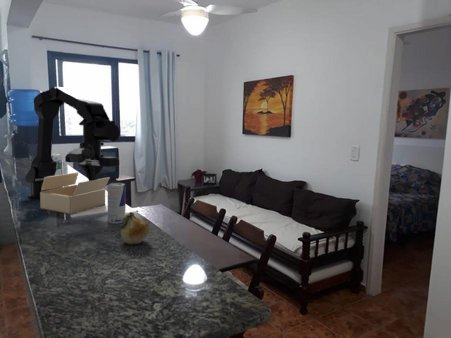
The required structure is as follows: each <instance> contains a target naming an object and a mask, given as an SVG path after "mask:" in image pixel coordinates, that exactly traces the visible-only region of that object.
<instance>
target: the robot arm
mask: <svg viewBox="0 0 451 338" xmlns="http://www.w3.org/2000/svg"><path fill="white" fill-rule="evenodd" d="M65 104H66V105H68V106H70V107H71V108H73V109H75V111H76V114H77V115H79V116H80V117H81V118H82V120H81V121H80V122H79V123H78V125H79V126H82V141H81V142H80V143H79V147H76V148H74V149H73V150H70V151H69V152H68V153H66V155H65V161H64V162H65V163H77V165H78V166H79V167H81V168H82V169H83V170H84V172H85V174H86V177H87V179H88V180H87V181H91V180H96V179H97V178H98V177H99V174H100V173H101V171H102V169H103V168H104V167H107V168H110V167H115V166H120V160H119V158H118V157H117V156H110V155H109V156H104V154H103V153H102V146H104V142H102V141H105V142H116V141H117V140H118V139H119V137H120V134H121V132H120V129H119V127H118V125H116V121H115V120H110V117H109V116H108V113H107V112H106V109H105V108H104V107H105V106H104V105H103V103H100V102H96V101H93V100H88V99H85V98H83V97H81V96H79V95H77V94H76V93H74V92H73V91H70V90H68V88H66V87H61V86H52V87H50V89H47V90H45V91H42V92H39V94H37V95H36V96H35V97H34V98H33V109H34V112H35V114H36V115H37V117H38V123H37V124H38V127H37V142H36V143H37V145H36V155H35V156H34V158H33V159H32V161H31V165H30V169H29V170H28V171H27V173H26V174H25V176H24V177H25V178H24V179H25V182H26V183H30V194H28V195H27V197H28V198H33V199H40V192H41V191H47V190H51V189H47V190H41V188H42V185H43V181H44V177H50V176H55V172H56V164H57V163H56V162H55V161H54V160H53V159H52V157H51V154H52V149H53V133H54V122H55V121H54V120H55V118H56V117H57V116H58V115H59V112H60V108H61V107H62V106H64V105H65Z"/></svg>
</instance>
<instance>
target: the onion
mask: <svg viewBox="0 0 451 338" xmlns="http://www.w3.org/2000/svg"><path fill="white" fill-rule="evenodd" d="M118 218H119V219H120V221H122V222H123V223H124V224H123V223H122V225H121V227H120V237H121V240H122V241H123V242H124V243H126V244H127V245H136V244H141V243H142V242H143V241H144V240H145V239H146V238H147V237H148V235H149V234H150V230H151V229H150V226H149V223H148V222H147V221H146V220H144V219H142V218H139V217H136V215H135V212H132V211H130V212H129V213H126V214H125V217H123V216H121V215H120V216H119V217H118Z"/></svg>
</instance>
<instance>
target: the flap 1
mask: <svg viewBox="0 0 451 338" xmlns="http://www.w3.org/2000/svg"><path fill="white" fill-rule="evenodd" d="M78 176H79V172H71V173H65V174H64V173H63V175H56V176H50V177H44V181H43V185H42V188H41V190H47V189H50V190H52V189H57V188H62V187H67V186H72V185H76V184H77V180H78Z"/></svg>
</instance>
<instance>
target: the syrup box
mask: <svg viewBox="0 0 451 338" xmlns="http://www.w3.org/2000/svg"><path fill="white" fill-rule="evenodd" d="M51 157H52V159H53V160H54V161H55V162H56V163H57V164H56V172H55V176H56V175H63V174H64V170H63V154H62V153H61V154H60V153H51Z"/></svg>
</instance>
